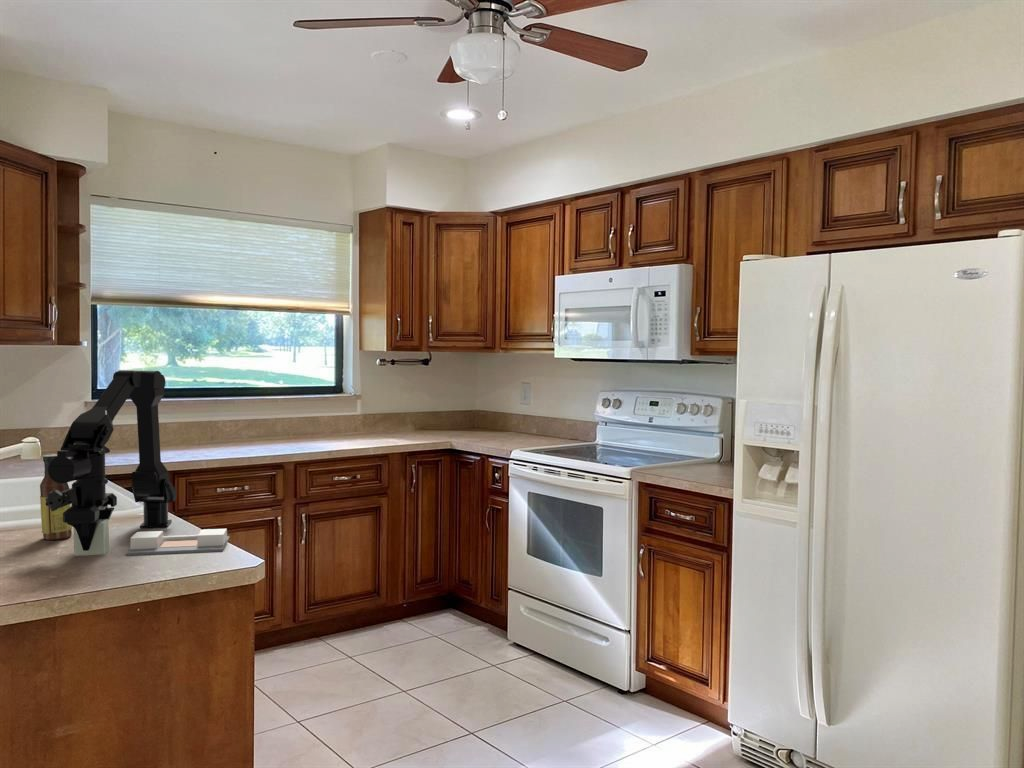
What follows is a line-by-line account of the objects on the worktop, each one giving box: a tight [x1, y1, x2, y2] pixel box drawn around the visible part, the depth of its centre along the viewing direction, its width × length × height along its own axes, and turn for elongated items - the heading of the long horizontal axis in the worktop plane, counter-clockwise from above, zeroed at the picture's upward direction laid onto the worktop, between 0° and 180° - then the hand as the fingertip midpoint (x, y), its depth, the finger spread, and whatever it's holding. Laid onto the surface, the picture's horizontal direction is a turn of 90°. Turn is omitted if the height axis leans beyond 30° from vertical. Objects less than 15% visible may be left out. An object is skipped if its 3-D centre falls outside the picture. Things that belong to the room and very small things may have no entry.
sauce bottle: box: [39, 453, 73, 541], centre depth 188 cm, size 7×6×20 cm
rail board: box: [125, 528, 230, 556], centre depth 181 cm, size 12×20×3 cm, turn 103°
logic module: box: [73, 519, 110, 557], centre depth 175 cm, size 4×6×7 cm, turn 103°
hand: (91, 545), depth 175 cm, fingers open, 8 cm apart
